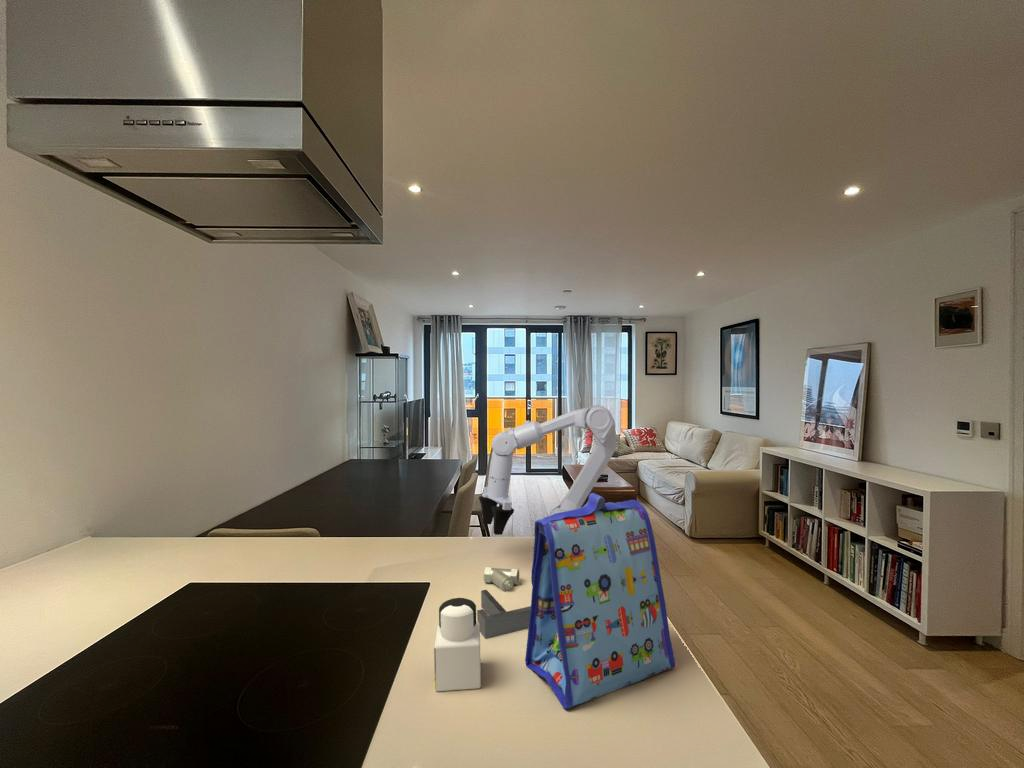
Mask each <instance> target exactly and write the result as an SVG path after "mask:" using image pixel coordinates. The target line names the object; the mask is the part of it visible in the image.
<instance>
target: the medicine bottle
mask: <svg viewBox="0 0 1024 768" xmlns="http://www.w3.org/2000/svg"><path fill="white" fill-rule="evenodd" d="M438 622H439V623H438V624H437V626H436V628H437V629H436V633H435V634H436V635H435V641H434V648H433V650H434V651H433V653H434V656H433V657H434V691H435V692H449V691H461V690H462V691H463V690H464V691H465V690H476V689H481V685H482V679H481V678H482V677H481V671H482V669H481V667H482V666H481V632H480V624H479V622H477V605H476V603H475V602H474V601H473V600H471V599H469V598H465V597H453V598H449V599H447V600H446V601H444V602H442V603H441V605H440V606H439V607H438Z"/></svg>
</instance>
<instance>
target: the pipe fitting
mask: <svg viewBox="0 0 1024 768" xmlns="http://www.w3.org/2000/svg"><path fill="white" fill-rule="evenodd" d="M483 581H484V583H489V584H494V585H496V586H497V587H498V588H499V589H501V590H502V591H503V592H507V591H511V590H512V588H513V586H515V585H517V586H518V585H519V582H520V569H518V568H500V567H492V566H491V567H490V566H487V567H486V566H485V569H484V573H483Z"/></svg>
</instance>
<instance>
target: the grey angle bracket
mask: <svg viewBox="0 0 1024 768" xmlns="http://www.w3.org/2000/svg"><path fill="white" fill-rule="evenodd" d="M480 599H481V600H480V601H481V609H478V610H477V609H476V622H479V624H480V635H481V636H482V637H483V638H484V639H485V640H486V639H490V638H493V637H498V636H501V635H505V634H506V635H507V634H509V633H513V632H517V631H521V630H526V629H528V627H529V618H530V608H531V605H529V606H525V607H521V608H520V607H519V608H517V609H512V610H508V611H506V609H505V608H504V607H503V606H502V605H501V604H500V603H499V602H498V600H496V599H495V597H494V596H493V595H492V594H491V593H490V592H489V591H488V590H487V589H483V590H481V592H480Z"/></svg>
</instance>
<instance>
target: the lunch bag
mask: <svg viewBox="0 0 1024 768" xmlns="http://www.w3.org/2000/svg"><path fill="white" fill-rule="evenodd" d="M533 533H534V540H533V541H534V543H533V558H532V567H531V585H532V590H531V600H530V606H531V608H530V618H529V627H528V628H527V640H526V649H525V659H524V662H525V663H524V664H525V666H526V668H528V669H529V670H530V671H531V672H534V673H536V674H537V675H538V676H540V677H541V678H542V679H545V680H546V682H547V684H548V685H549V687H550V689H551V690H552V692H553V693H554V695H555V696H556V698H557V699H558V701H559V702H560V705H562V706H561V707H562V708H563V709H565V710H568V709H571V708H573V707H575V706H578V705H581V704H584V703H586V702H590V701H592V700H594V699H596V698H598V697H601V696H604V695H607V694H610V693H612V692H614V691H617V690H619V689H622V688H625V687H627V686H630V685H632V684H635V683H637V682H640V681H643V680H645V679H648V678H650V677H652V676H655V675H657V674H660V673H662V672H665V671H668V670H670V669H674V668H675V667H676V659H675V655H674V649H673V644H672V641H671V640H672V639H671V634H670V628H669V627H670V626H669V622H668V613H667V612H668V611H667V606H666V600H665V595H664V588H663V583H662V578H661V577H662V576H661V571H660V570H661V569H660V565H659V559H658V553H657V545H656V541H655V536H654V535H655V534H654V532H653V528H652V523H651V520H650V516H649V513H648V511H647V509H646V507H645V506H644V505H643V504H642V503H641V502H639V501H637V500H636V499H630V500H623V501H617V502H611V501H610V502H609V501H608V502H606V500H605V498H604V497H603V496H601V495H599V494H597V493H595V492H590V493H589V495H588V500H587V502H586V504H584V505H582V506H581V508H579V509H575V510H570V511H566V512H561V513H556V514H553V515H551V516H550V515H548V516H545V517H544V518H541V519H538V520H535V521H534V532H533Z"/></svg>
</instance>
